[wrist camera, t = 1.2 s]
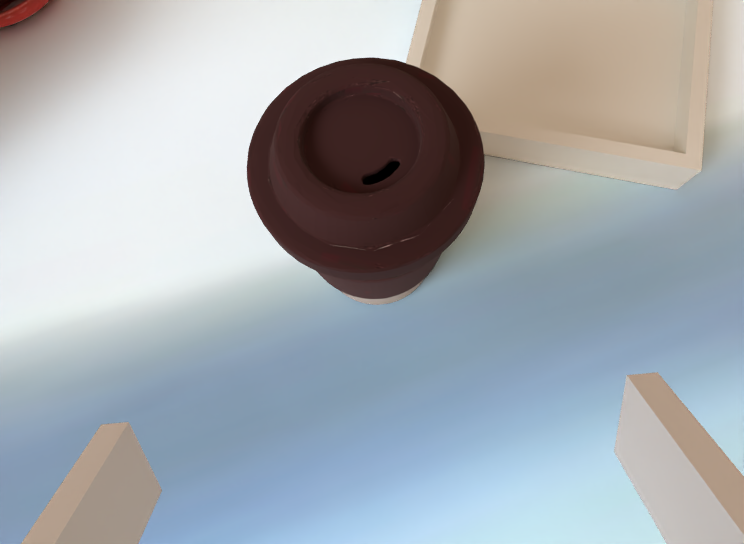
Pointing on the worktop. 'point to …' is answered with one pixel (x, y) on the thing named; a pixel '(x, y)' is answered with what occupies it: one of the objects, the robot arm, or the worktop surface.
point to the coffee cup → (366, 174)
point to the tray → (578, 80)
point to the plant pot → (18, 10)
